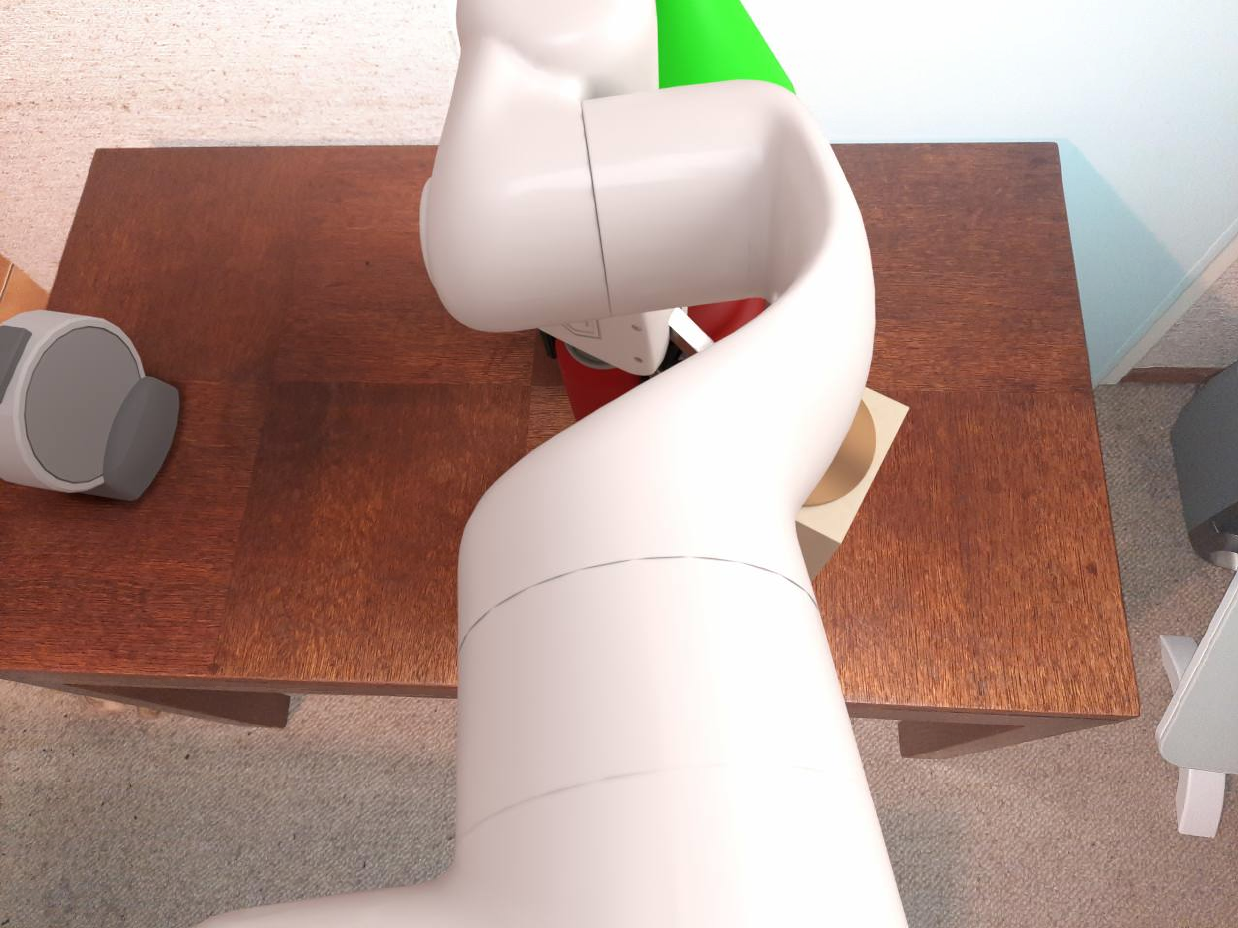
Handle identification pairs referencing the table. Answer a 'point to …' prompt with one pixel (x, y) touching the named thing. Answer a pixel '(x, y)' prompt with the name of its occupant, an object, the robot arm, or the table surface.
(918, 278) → the table surface
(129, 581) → the table surface
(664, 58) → the table lamp
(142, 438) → the alarm clock
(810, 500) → the cork pad
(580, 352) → the beverage can
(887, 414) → the block
